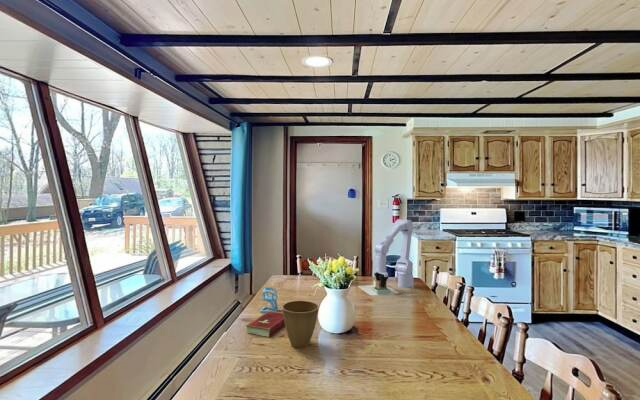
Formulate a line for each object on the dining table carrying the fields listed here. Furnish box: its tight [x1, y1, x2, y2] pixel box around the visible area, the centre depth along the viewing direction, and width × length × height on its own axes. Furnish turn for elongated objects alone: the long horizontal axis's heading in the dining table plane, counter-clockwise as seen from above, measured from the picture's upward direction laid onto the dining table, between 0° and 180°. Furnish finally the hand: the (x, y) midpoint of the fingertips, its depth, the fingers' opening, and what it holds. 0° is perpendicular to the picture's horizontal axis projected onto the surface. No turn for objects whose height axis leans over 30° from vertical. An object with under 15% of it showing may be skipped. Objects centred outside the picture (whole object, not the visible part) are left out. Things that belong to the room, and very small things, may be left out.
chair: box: [259, 287, 279, 314], centre depth 198 cm, size 8×8×12 cm
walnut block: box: [375, 280, 388, 289], centre depth 232 cm, size 5×5×4 cm
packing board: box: [357, 284, 399, 296], centre depth 238 cm, size 19×22×3 cm
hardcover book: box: [245, 311, 286, 338], centre depth 176 cm, size 12×21×4 cm, turn 159°
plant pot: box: [282, 300, 320, 349], centre depth 157 cm, size 15×15×16 cm
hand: (381, 285), depth 232 cm, fingers closed on walnut block, 5 cm apart
